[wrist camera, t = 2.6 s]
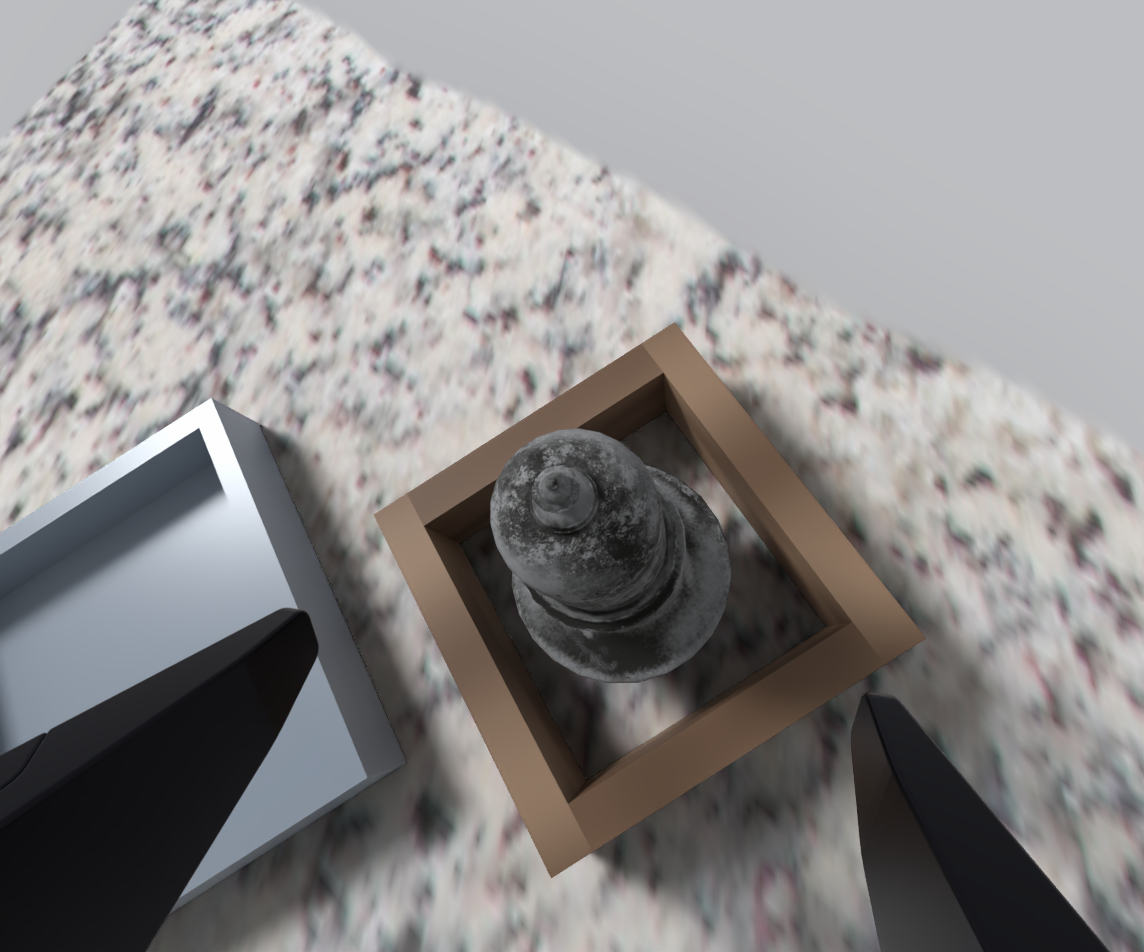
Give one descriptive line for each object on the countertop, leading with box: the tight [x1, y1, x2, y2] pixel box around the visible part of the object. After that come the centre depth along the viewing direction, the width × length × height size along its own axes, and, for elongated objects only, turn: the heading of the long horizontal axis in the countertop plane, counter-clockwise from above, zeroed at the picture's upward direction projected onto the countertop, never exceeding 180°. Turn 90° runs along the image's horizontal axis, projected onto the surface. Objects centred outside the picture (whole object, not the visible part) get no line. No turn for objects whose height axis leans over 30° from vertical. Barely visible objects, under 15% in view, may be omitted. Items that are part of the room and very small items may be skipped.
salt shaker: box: [490, 429, 731, 683], centre depth 14 cm, size 6×6×12 cm
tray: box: [0, 398, 407, 913], centre depth 20 cm, size 14×14×2 cm
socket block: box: [374, 322, 926, 878], centre depth 18 cm, size 11×11×3 cm
